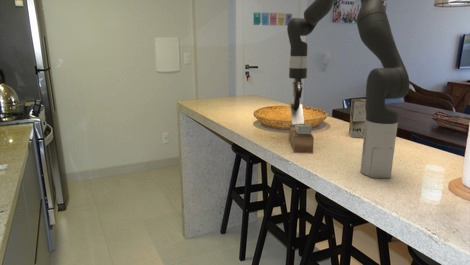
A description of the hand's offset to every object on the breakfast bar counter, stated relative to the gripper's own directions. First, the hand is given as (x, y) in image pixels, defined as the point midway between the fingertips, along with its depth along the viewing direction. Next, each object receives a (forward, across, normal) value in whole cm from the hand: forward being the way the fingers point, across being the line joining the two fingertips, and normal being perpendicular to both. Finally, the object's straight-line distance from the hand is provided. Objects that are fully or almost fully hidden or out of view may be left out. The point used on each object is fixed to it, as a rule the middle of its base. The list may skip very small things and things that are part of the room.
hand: (296, 107), depth 152 cm
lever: (+7, -7, 0) cm, 10 cm away
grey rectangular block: (+7, -20, 0) cm, 21 cm away
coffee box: (+13, +3, -28) cm, 31 cm away
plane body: (+13, -15, 0) cm, 20 cm away
